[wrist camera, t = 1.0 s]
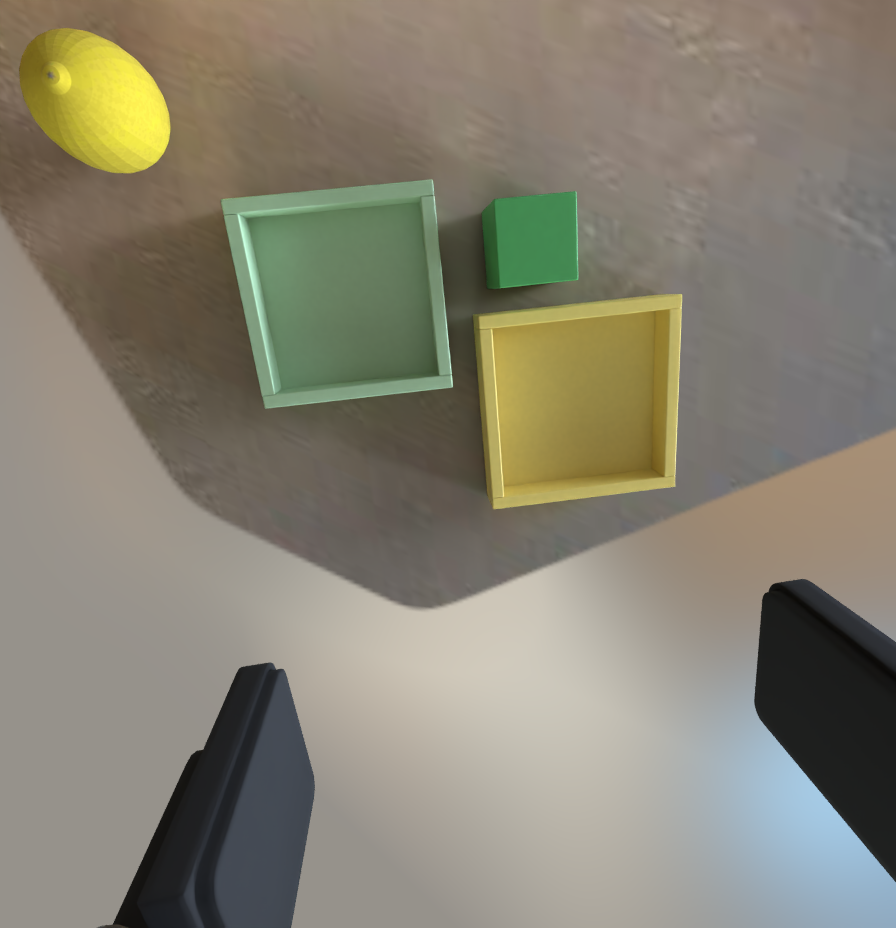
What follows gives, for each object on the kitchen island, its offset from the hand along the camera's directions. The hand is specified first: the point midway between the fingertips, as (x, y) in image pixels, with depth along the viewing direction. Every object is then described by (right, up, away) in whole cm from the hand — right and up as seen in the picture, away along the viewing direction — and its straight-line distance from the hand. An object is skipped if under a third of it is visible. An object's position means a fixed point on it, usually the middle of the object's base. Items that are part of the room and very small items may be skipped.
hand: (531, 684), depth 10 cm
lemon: (-19, +23, +19) cm, 35 cm away
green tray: (-8, +15, +23) cm, 28 cm away
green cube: (+3, +18, +23) cm, 29 cm away
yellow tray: (+7, +9, +26) cm, 28 cm away
